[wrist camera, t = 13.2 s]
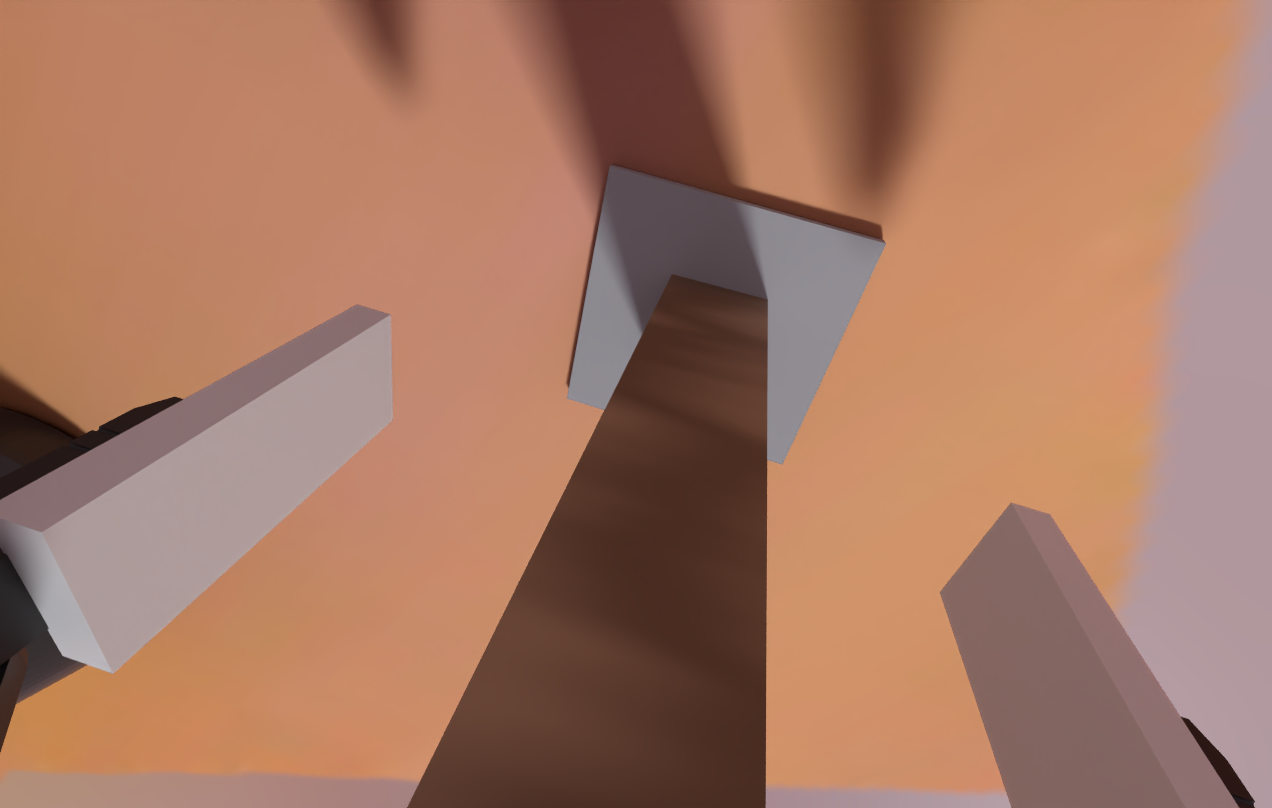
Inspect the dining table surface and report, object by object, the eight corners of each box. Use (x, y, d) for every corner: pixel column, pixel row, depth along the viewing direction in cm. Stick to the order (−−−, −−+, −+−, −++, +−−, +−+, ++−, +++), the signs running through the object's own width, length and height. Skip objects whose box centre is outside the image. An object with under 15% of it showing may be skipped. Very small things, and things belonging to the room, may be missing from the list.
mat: (570, 393, 20) (567, 398, 20) (612, 164, 16) (609, 166, 16) (781, 457, 20) (782, 464, 20) (883, 240, 16) (886, 243, 15)
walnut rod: (651, 359, 19) (333, 1112, 5) (672, 273, 17) (289, 1043, 3) (738, 383, 18) (653, 1239, 5) (768, 299, 17) (763, 1228, 3)
